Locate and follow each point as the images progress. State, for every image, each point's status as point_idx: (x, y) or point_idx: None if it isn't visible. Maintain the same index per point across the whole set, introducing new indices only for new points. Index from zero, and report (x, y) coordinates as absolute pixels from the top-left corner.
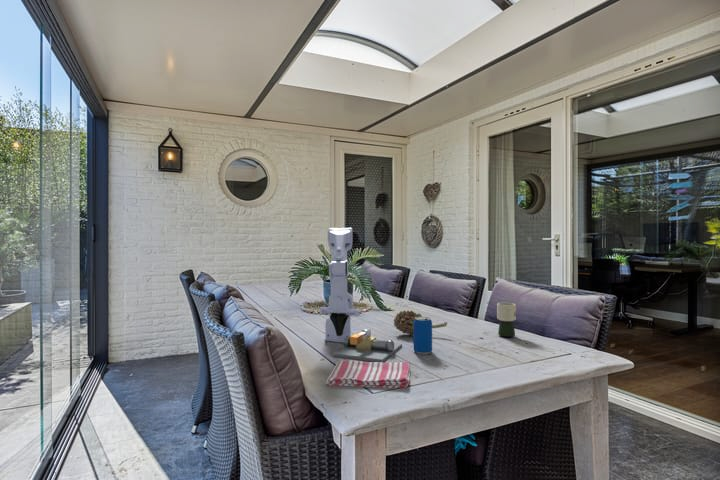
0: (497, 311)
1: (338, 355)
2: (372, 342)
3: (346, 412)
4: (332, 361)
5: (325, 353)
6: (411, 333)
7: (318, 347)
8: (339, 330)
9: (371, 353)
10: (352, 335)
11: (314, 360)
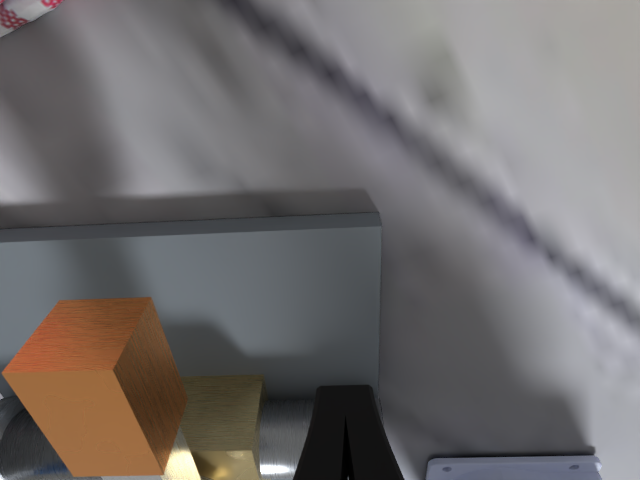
0: None
1: (325, 221)
2: None
3: None
4: (306, 76)
5: (484, 249)
6: None
7: (600, 344)
8: (311, 454)
9: None
10: (134, 418)
11: (512, 15)
